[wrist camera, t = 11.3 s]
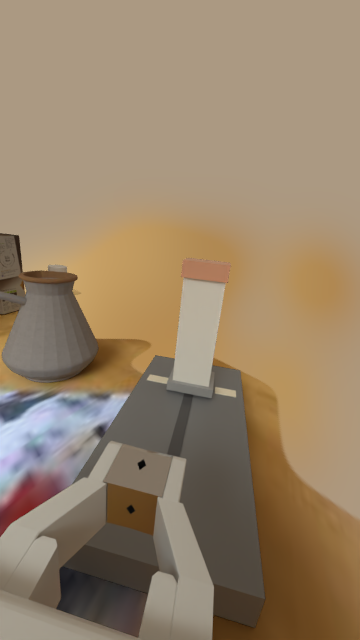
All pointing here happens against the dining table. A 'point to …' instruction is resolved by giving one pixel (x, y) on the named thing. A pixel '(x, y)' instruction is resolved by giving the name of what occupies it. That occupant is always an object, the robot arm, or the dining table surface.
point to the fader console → (188, 489)
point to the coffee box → (10, 271)
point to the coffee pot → (48, 329)
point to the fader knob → (198, 326)
